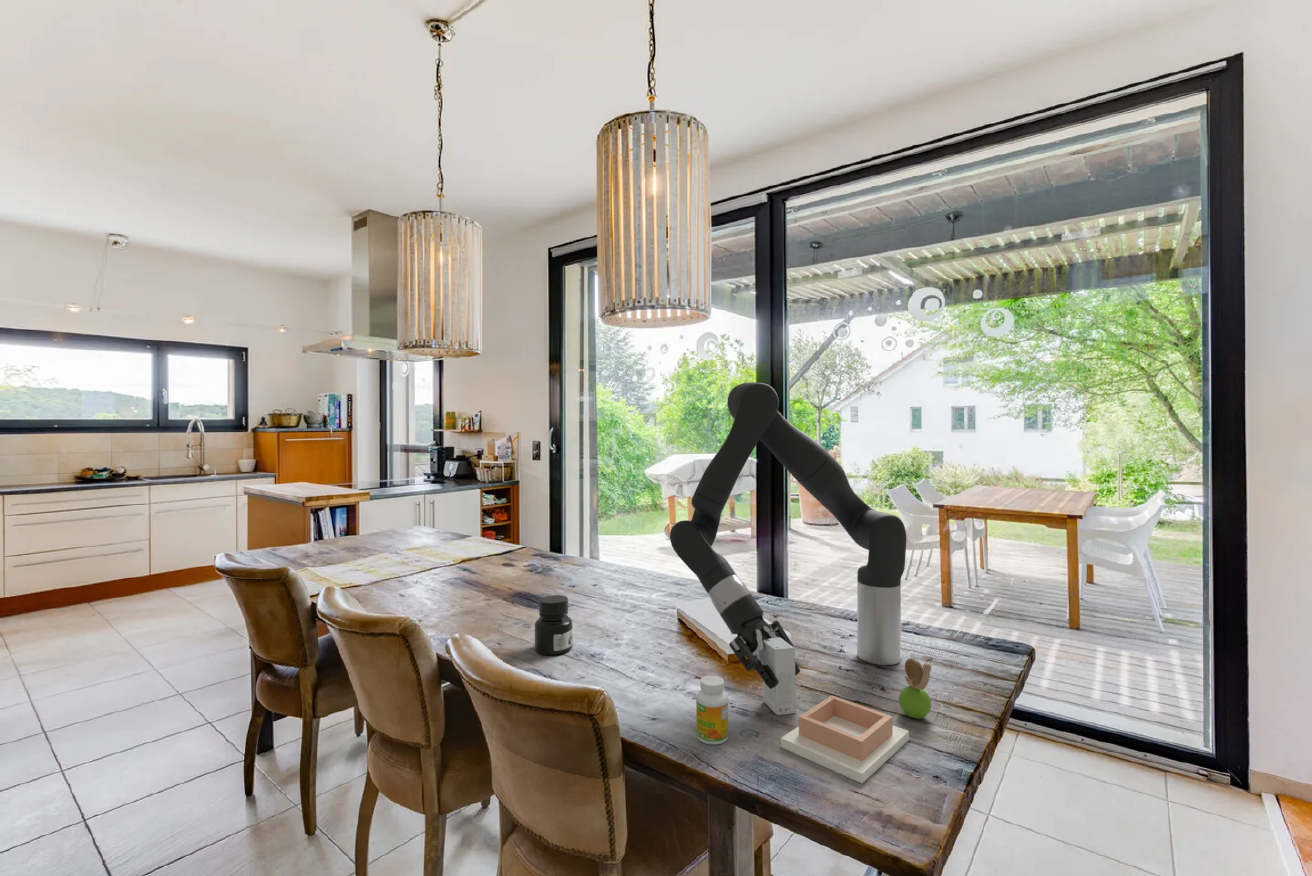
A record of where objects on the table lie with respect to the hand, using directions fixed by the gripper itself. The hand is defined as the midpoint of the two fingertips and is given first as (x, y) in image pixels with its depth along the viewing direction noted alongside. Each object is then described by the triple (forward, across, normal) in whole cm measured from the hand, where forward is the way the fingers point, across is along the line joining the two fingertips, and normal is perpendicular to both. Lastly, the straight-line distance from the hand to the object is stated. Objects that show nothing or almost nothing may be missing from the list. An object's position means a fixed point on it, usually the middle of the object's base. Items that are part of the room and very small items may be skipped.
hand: (785, 680), depth 109 cm
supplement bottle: (+2, -17, +7) cm, 18 cm away
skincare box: (+3, 0, +5) cm, 6 cm away
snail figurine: (+17, +14, -9) cm, 24 cm away
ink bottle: (-35, -13, +43) cm, 57 cm away
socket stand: (+13, -3, -6) cm, 15 cm away
